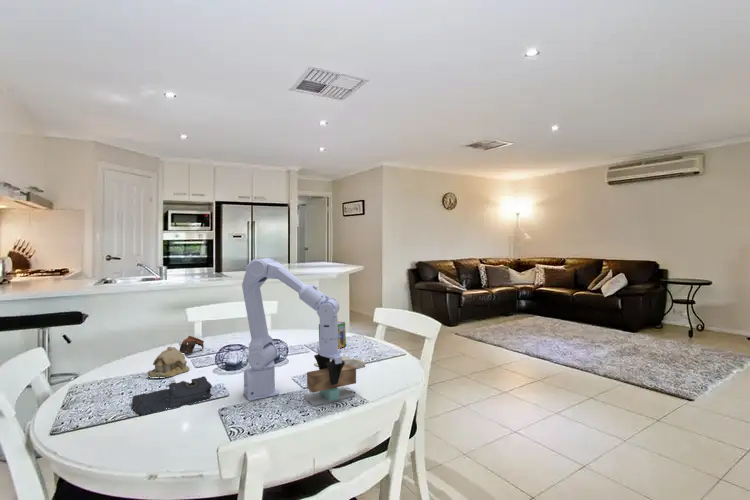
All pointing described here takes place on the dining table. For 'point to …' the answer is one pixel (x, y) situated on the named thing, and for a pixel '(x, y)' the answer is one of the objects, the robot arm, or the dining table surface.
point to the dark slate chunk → (173, 396)
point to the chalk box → (339, 334)
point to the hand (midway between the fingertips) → (329, 380)
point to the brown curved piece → (190, 344)
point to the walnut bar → (321, 378)
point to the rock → (349, 362)
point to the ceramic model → (169, 363)
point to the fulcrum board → (323, 400)
